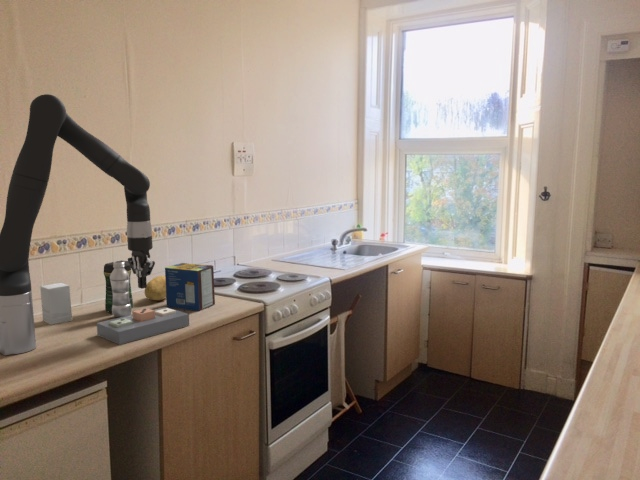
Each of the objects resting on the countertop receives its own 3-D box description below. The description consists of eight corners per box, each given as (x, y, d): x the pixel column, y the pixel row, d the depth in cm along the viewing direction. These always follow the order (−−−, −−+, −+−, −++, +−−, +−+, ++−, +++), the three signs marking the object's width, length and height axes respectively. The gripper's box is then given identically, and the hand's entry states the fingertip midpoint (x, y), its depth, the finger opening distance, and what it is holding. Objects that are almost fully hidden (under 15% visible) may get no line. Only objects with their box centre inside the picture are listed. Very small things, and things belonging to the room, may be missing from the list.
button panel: (119, 344, 158) (119, 331, 158) (97, 335, 167) (96, 322, 167) (189, 325, 177) (188, 314, 176) (165, 317, 186) (165, 306, 185)
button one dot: (163, 326, 175) (163, 313, 174) (155, 323, 178) (154, 310, 177) (176, 323, 178) (175, 310, 178) (168, 320, 182) (167, 307, 181)
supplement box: (72, 320, 183) (70, 285, 182) (50, 325, 178) (47, 289, 176) (64, 316, 188) (61, 282, 186) (42, 321, 183) (39, 285, 181)
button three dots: (141, 327, 168) (140, 313, 168) (133, 324, 172) (132, 310, 171) (155, 324, 172) (154, 310, 171) (147, 321, 175) (146, 307, 175)
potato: (180, 297, 215) (179, 274, 214) (152, 305, 203) (151, 281, 202) (162, 294, 220) (161, 272, 219) (135, 302, 208) (133, 278, 207)
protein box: (182, 300, 210) (181, 262, 208) (215, 304, 204) (214, 265, 202) (165, 307, 200) (163, 267, 198) (199, 311, 194) (197, 270, 192)
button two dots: (118, 338, 163) (117, 324, 162) (110, 335, 166) (109, 321, 165) (133, 334, 166) (132, 320, 166) (125, 331, 170) (124, 317, 169)
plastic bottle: (125, 320, 184) (122, 263, 181) (108, 319, 185) (104, 263, 182) (135, 314, 190) (132, 260, 187) (118, 313, 191) (115, 260, 188)
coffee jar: (117, 314, 190) (114, 264, 188) (101, 312, 194) (98, 262, 191) (137, 308, 199) (134, 260, 196) (121, 305, 202) (119, 258, 200)
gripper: (118, 234, 169) (121, 286, 172) (139, 238, 161) (143, 293, 163) (139, 232, 175) (142, 283, 177) (161, 235, 166) (164, 288, 169)
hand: (142, 287), depth 170 cm, fingers closed
